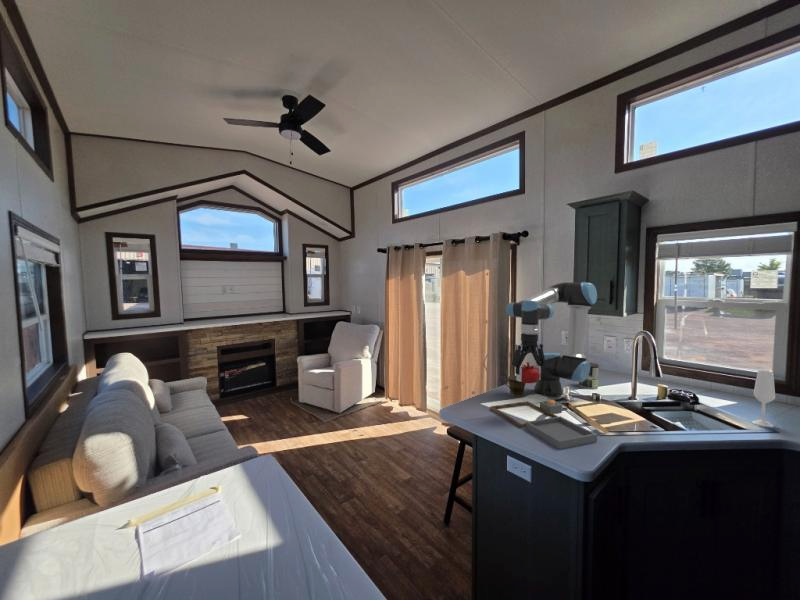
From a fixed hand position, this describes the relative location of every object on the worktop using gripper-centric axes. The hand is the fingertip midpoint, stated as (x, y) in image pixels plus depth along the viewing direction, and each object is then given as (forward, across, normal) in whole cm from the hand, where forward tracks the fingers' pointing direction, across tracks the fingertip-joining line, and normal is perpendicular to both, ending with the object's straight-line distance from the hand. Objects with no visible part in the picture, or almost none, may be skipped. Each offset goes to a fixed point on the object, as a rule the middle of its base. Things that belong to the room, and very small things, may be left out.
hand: (528, 379), depth 155 cm
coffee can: (+18, +68, +28) cm, 75 cm away
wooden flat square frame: (+18, 0, +3) cm, 18 cm away
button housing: (+18, +16, +3) cm, 24 cm away
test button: (+17, +16, +3) cm, 23 cm away
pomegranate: (+1, 0, 0) cm, 1 cm away
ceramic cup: (+18, +14, +28) cm, 36 cm away
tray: (+18, +1, -19) cm, 26 cm away
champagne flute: (+18, +98, -38) cm, 106 cm away
